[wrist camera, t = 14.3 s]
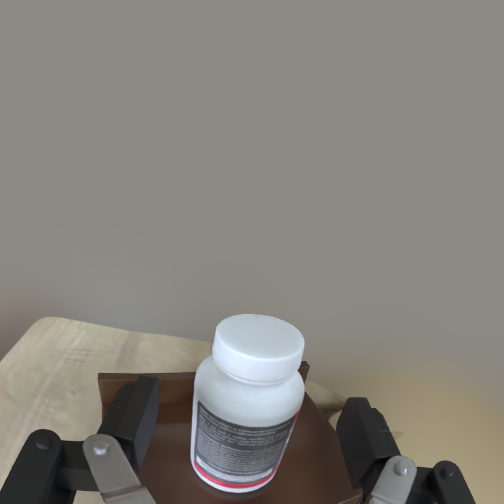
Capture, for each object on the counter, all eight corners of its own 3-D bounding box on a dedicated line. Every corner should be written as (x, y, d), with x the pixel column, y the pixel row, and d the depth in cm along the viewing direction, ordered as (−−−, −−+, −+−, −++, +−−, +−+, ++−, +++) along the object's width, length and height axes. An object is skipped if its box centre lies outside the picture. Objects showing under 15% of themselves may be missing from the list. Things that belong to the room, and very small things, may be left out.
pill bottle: (292, 481, 15) (344, 357, 12) (206, 503, 13) (223, 379, 10) (255, 424, 20) (283, 302, 17) (180, 437, 17) (185, 307, 15)
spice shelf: (134, 575, 11) (102, 532, 8) (115, 457, 21) (97, 372, 19) (338, 531, 17) (396, 464, 14) (279, 440, 27) (305, 360, 25)
